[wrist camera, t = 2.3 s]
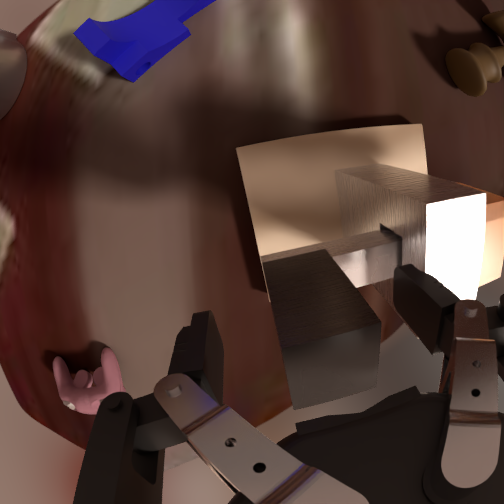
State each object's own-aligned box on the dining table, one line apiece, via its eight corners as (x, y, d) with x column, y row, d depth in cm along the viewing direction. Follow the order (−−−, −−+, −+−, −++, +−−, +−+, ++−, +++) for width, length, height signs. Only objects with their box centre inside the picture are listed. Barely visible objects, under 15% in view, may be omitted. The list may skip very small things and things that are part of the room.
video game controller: (74, 368, 31) (72, 417, 27) (51, 354, 28) (46, 407, 23) (131, 358, 31) (133, 415, 26) (108, 343, 27) (107, 405, 23)
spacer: (427, 187, 16) (478, 206, 11) (458, 182, 16) (508, 199, 11) (427, 257, 18) (470, 290, 13) (457, 248, 18) (500, 276, 13)
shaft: (258, 247, 15) (281, 348, 8) (500, 195, 15) (582, 230, 7) (268, 296, 16) (293, 409, 9) (498, 233, 16) (572, 277, 9)
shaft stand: (235, 147, 22) (238, 155, 9) (412, 124, 21) (530, 131, 9) (267, 293, 27) (293, 412, 14) (420, 255, 26) (508, 327, 14)
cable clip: (134, 82, 19) (105, 67, 14) (105, 52, 18) (73, 33, 12) (249, -2, 17) (254, -38, 11) (216, -30, 16) (213, -66, 10)
